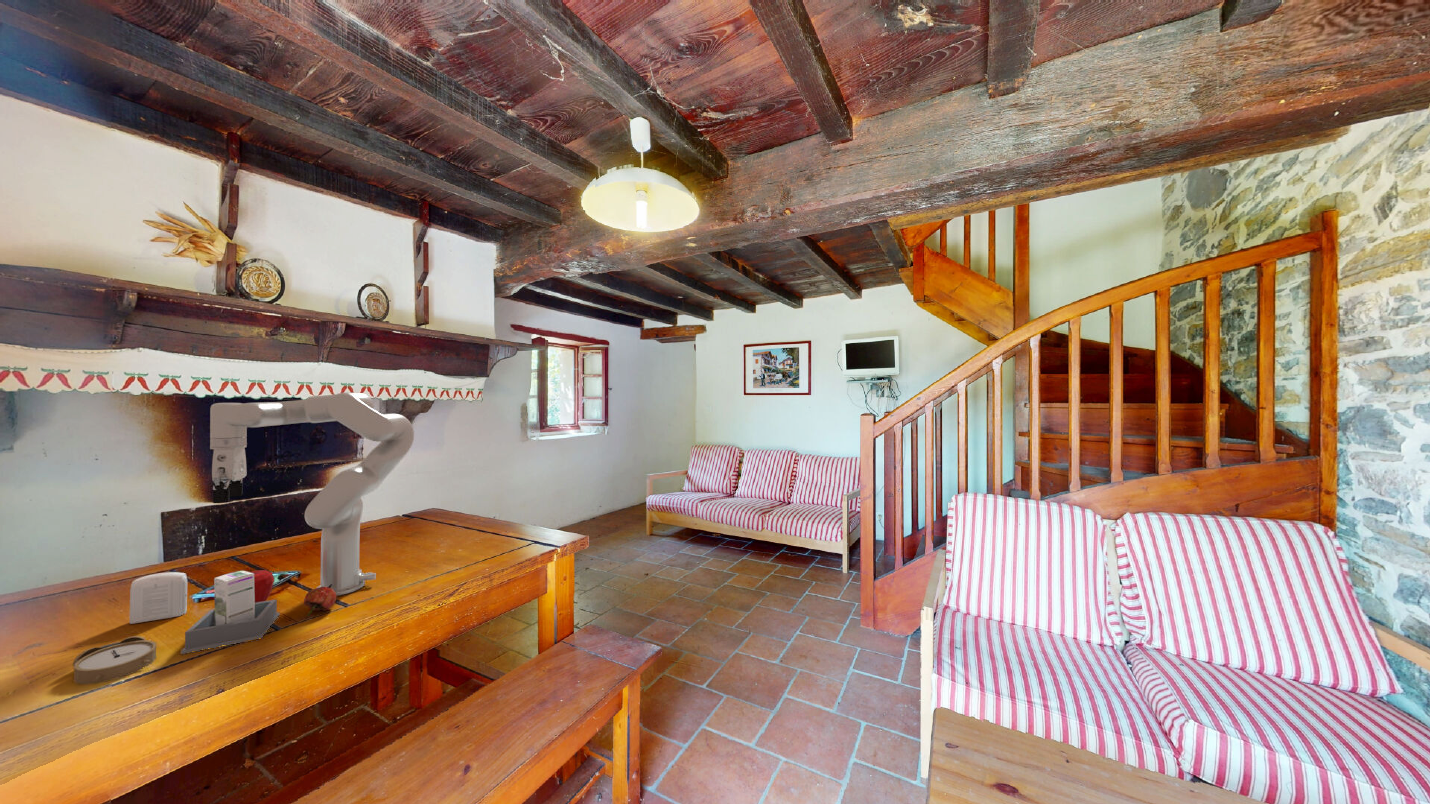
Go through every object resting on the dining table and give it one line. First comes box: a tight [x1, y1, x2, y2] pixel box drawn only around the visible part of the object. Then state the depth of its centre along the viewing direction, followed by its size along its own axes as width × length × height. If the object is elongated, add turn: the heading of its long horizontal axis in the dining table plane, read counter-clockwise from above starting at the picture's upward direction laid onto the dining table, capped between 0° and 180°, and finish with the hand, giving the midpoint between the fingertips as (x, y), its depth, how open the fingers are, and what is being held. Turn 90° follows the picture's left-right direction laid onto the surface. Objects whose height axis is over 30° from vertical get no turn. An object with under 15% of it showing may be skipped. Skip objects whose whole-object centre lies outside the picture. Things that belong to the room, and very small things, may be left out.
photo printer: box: [129, 571, 188, 625], centre depth 124 cm, size 10×4×12 cm, turn 123°
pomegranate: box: [303, 584, 337, 616], centre depth 129 cm, size 7×7×10 cm
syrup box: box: [213, 570, 255, 626], centre depth 116 cm, size 6×6×14 cm
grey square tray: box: [180, 599, 281, 655], centre depth 116 cm, size 14×14×5 cm
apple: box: [249, 569, 275, 603], centre depth 131 cm, size 10×10×11 cm
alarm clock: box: [72, 635, 158, 685], centre depth 102 cm, size 11×5×15 cm
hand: (228, 499), depth 136 cm, fingers open, 9 cm apart
